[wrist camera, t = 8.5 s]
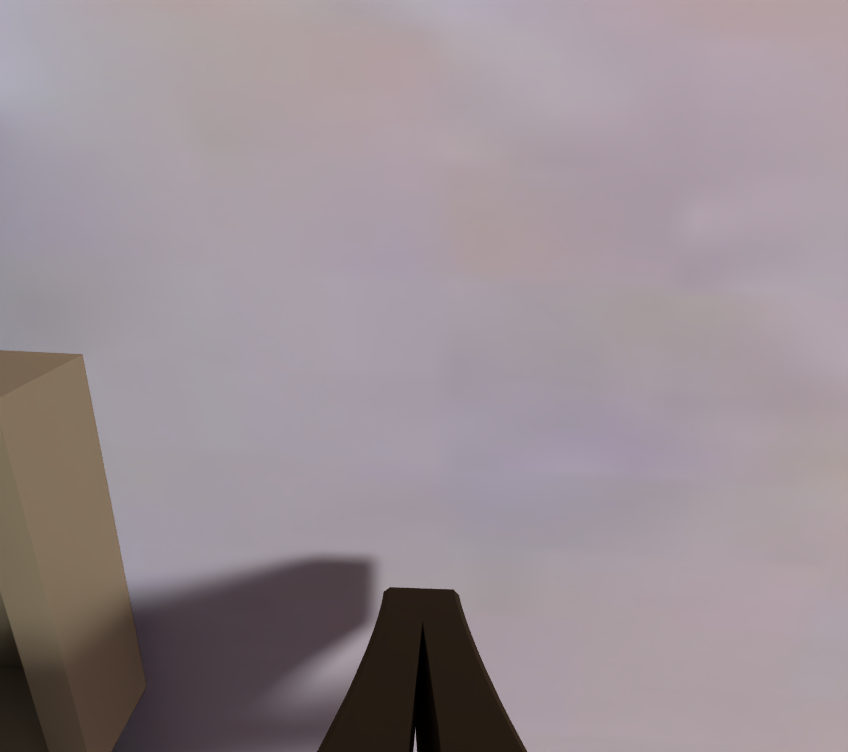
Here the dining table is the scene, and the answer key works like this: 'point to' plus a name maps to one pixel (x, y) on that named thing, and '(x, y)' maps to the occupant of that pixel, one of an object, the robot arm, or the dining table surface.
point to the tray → (59, 568)
